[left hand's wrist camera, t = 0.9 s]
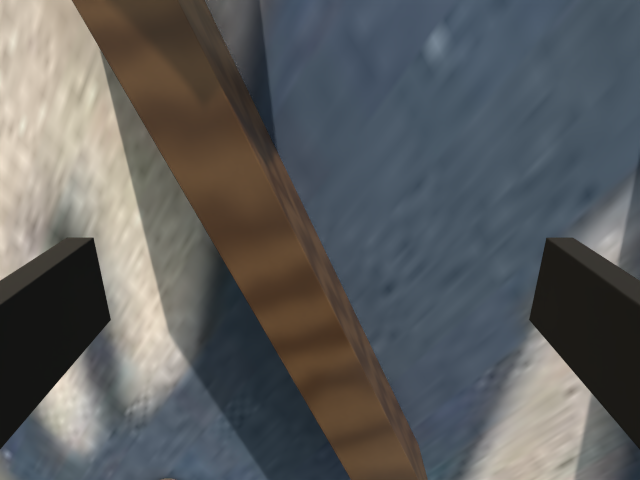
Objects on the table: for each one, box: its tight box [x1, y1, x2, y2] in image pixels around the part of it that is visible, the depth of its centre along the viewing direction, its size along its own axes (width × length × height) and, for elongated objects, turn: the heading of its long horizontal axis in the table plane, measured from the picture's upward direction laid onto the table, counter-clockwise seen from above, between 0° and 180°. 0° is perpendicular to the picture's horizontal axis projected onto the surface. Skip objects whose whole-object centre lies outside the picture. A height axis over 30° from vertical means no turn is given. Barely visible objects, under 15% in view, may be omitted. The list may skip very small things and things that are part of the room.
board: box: [72, 0, 428, 480], centre depth 34 cm, size 58×5×8 cm, turn 24°
